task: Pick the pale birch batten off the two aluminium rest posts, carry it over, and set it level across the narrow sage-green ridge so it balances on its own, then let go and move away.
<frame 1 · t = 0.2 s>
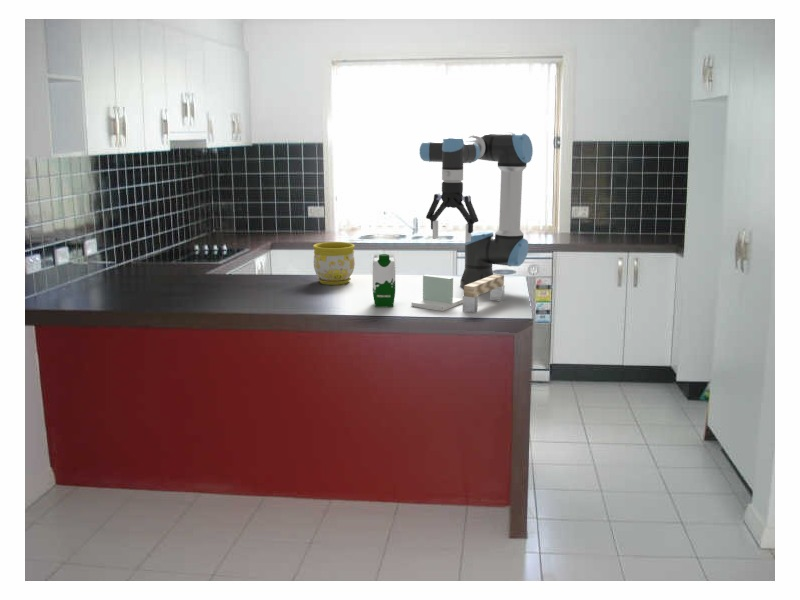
hand: (451, 240, 300), 28 cm above the countertop, fingers open, 13 cm apart
rest posts: (483, 305, 319), on the countertop
ridge stand: (437, 304, 321), on the countertop
batten: (484, 290, 318), point 6 cm above the countertop, touching rest posts
flowerpot: (334, 282, 362), on the countertop
milk carton: (384, 305, 320), on the countertop
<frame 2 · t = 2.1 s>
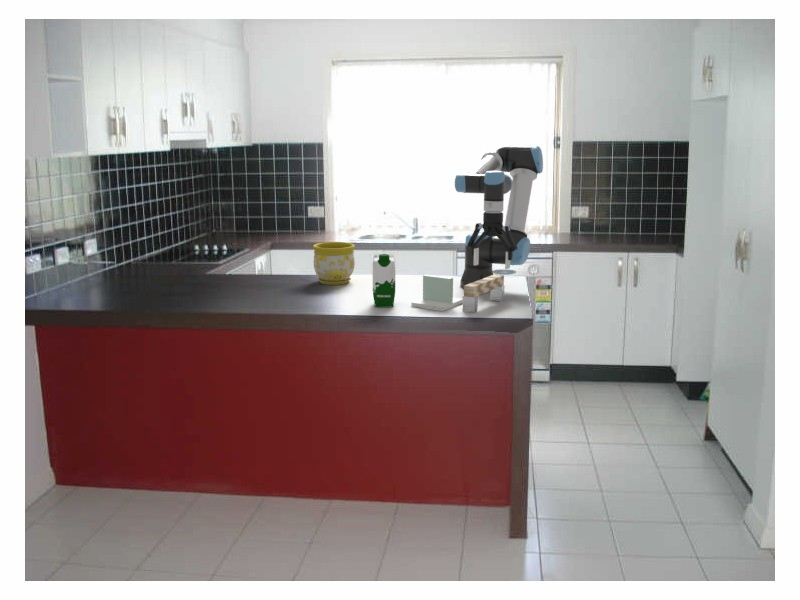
hand: (491, 266, 321), 14 cm above the countertop, fingers open, 13 cm apart
nothing on the countertop moved.
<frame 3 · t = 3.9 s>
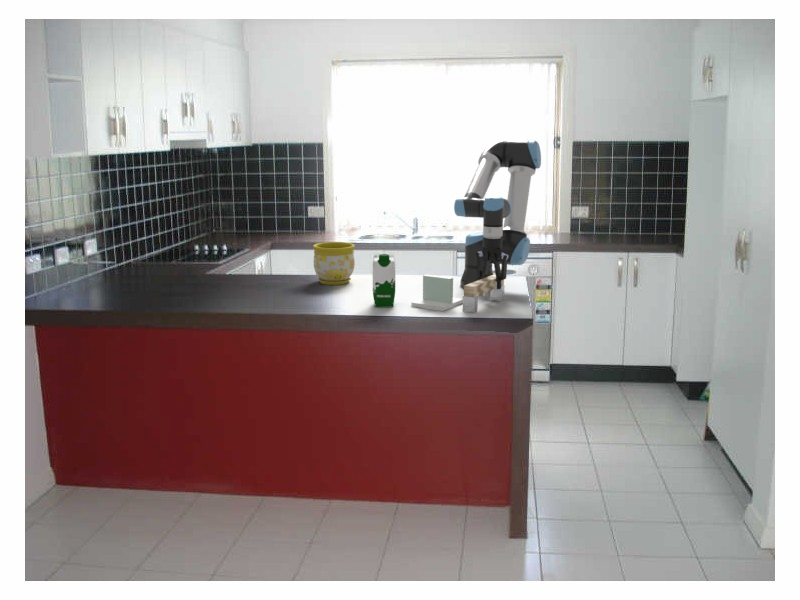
hand: (491, 296, 323), 3 cm above the countertop, fingers closed on batten, 4 cm apart
batten: (484, 290, 318), point 6 cm above the countertop, touching gripper, rest posts
everything else where it was.
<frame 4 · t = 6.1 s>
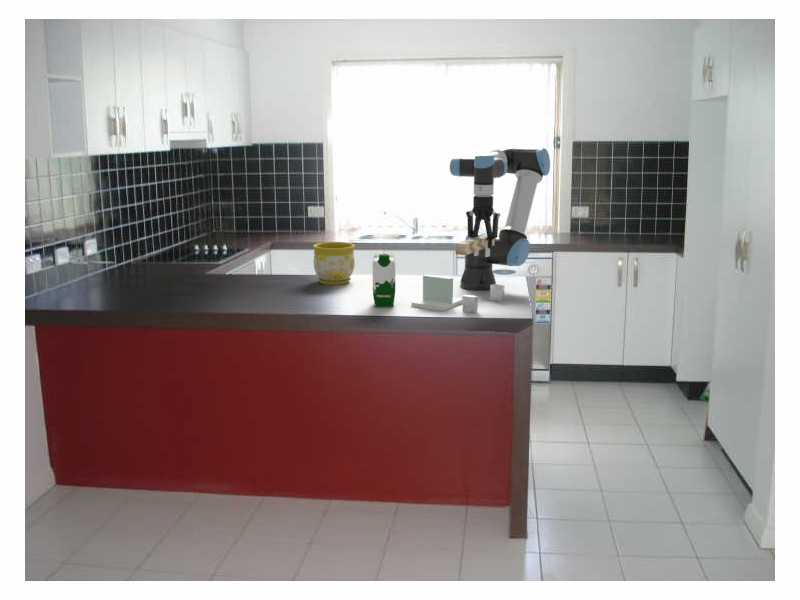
hand: (481, 255, 320), 19 cm above the countertop, fingers closed on batten, 4 cm apart
batten: (475, 249, 314), point 22 cm above the countertop, touching gripper
everything else where it was.
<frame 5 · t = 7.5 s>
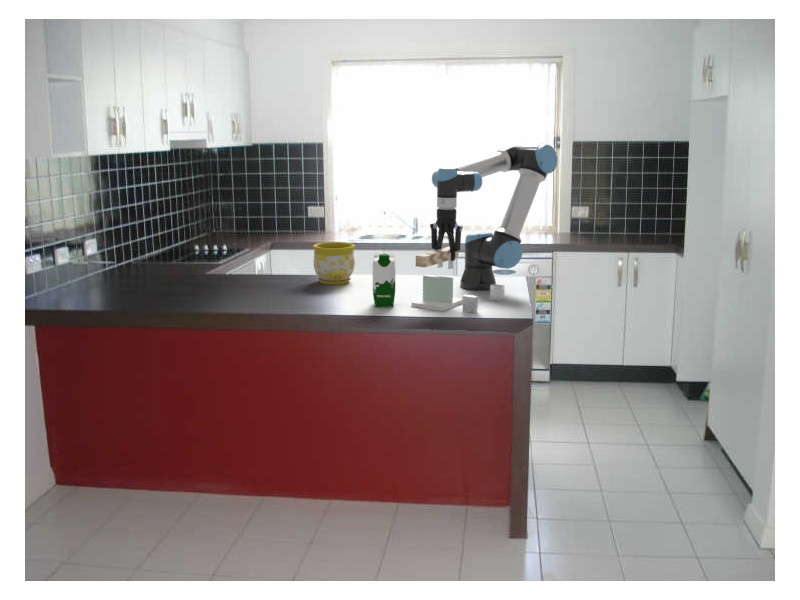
hand: (445, 268, 323), 13 cm above the countertop, fingers closed on batten, 4 cm apart
batten: (437, 261, 317), point 17 cm above the countertop, touching gripper
everything else where it was.
when the fingers open (8 cm above the countertop, at t = 8.7 s): batten stays where it is, resting on ridge stand.
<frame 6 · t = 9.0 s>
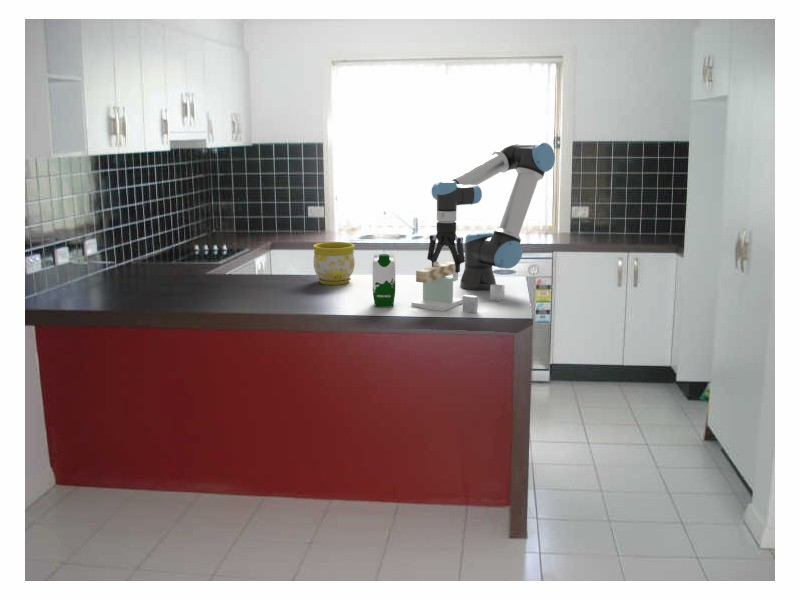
hand: (445, 279, 324), 9 cm above the countertop, fingers open, 8 cm apart
batten: (438, 276, 318), point 11 cm above the countertop, touching ridge stand
everything else where it was.
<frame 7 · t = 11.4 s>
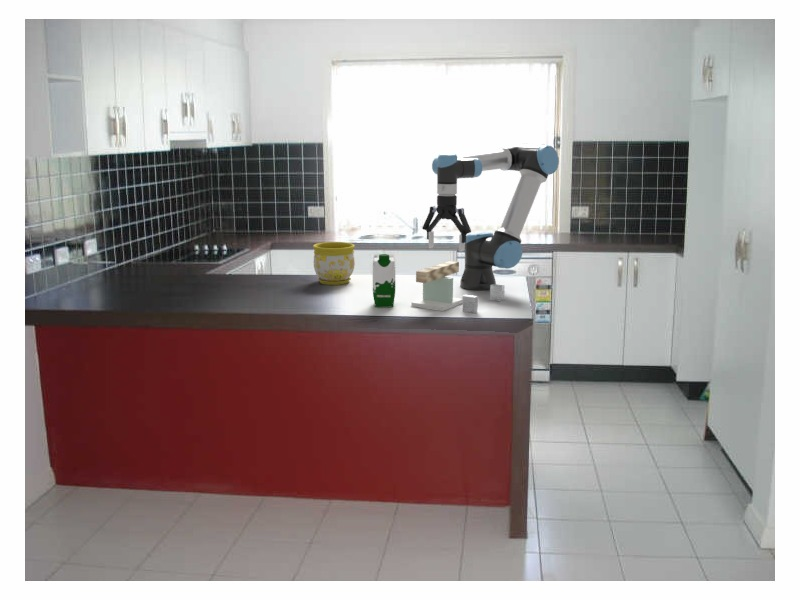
hand: (446, 249, 321), 21 cm above the countertop, fingers open, 13 cm apart
nothing on the countertop moved.
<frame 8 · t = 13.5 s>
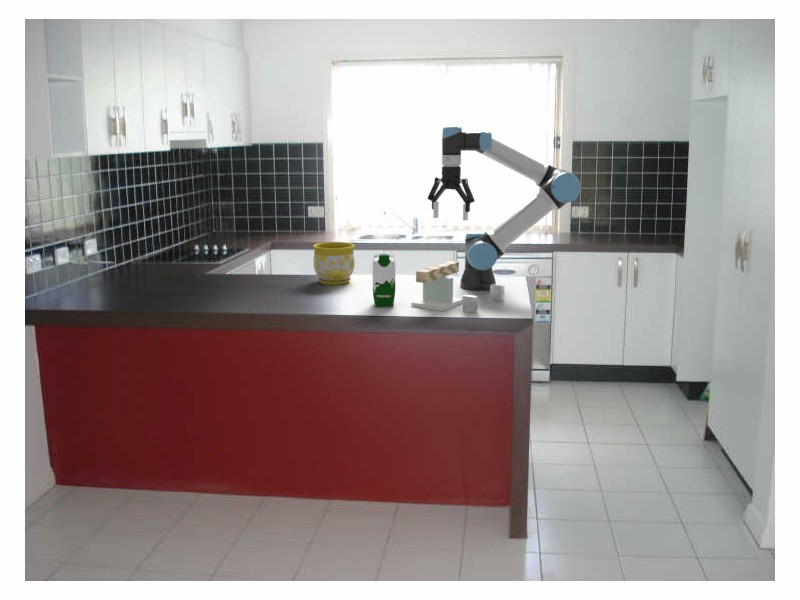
hand: (450, 219, 334), 31 cm above the countertop, fingers open, 13 cm apart
nothing on the countertop moved.
at the end: batten 0.0 cm off-centre on the ridge stand, point 11.0 cm above the ridge stand's base; batten tilted 0°; the gripper is holding nothing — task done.
